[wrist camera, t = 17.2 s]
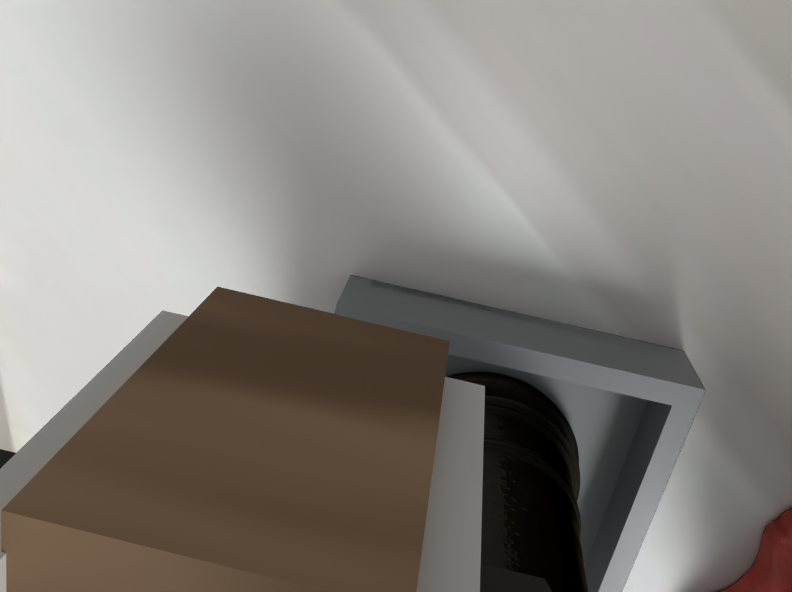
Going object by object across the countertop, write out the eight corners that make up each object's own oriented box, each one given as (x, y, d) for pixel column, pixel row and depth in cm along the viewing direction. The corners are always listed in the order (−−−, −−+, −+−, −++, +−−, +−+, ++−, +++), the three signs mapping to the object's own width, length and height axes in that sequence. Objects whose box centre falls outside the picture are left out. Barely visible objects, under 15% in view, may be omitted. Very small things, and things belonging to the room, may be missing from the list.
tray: (350, 275, 33) (336, 305, 30) (684, 351, 33) (705, 389, 30) (282, 636, 42) (265, 690, 39) (547, 700, 41) (552, 760, 38)
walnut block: (217, 287, 13) (0, 510, 7) (449, 341, 12) (413, 613, 7) (195, 479, 14) (2, 787, 9) (401, 530, 14) (340, 876, 8)
